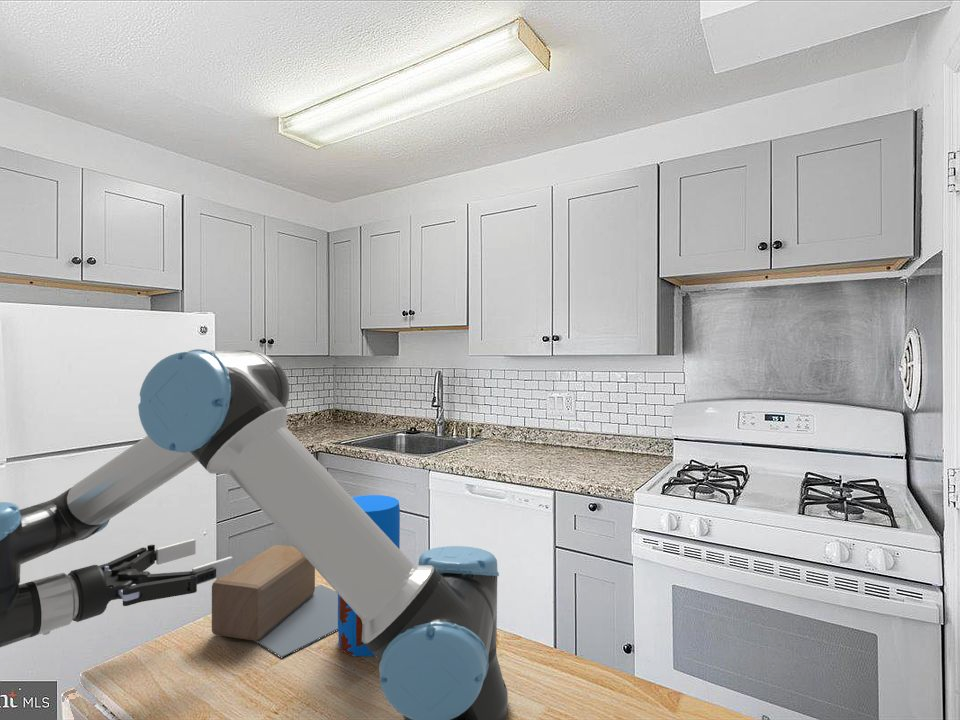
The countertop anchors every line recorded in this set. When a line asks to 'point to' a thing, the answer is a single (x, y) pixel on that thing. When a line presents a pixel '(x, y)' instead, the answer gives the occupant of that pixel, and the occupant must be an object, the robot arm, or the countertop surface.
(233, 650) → the countertop surface
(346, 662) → the countertop surface
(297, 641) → the mat
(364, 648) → the thermos
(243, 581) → the block
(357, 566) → the robot arm
